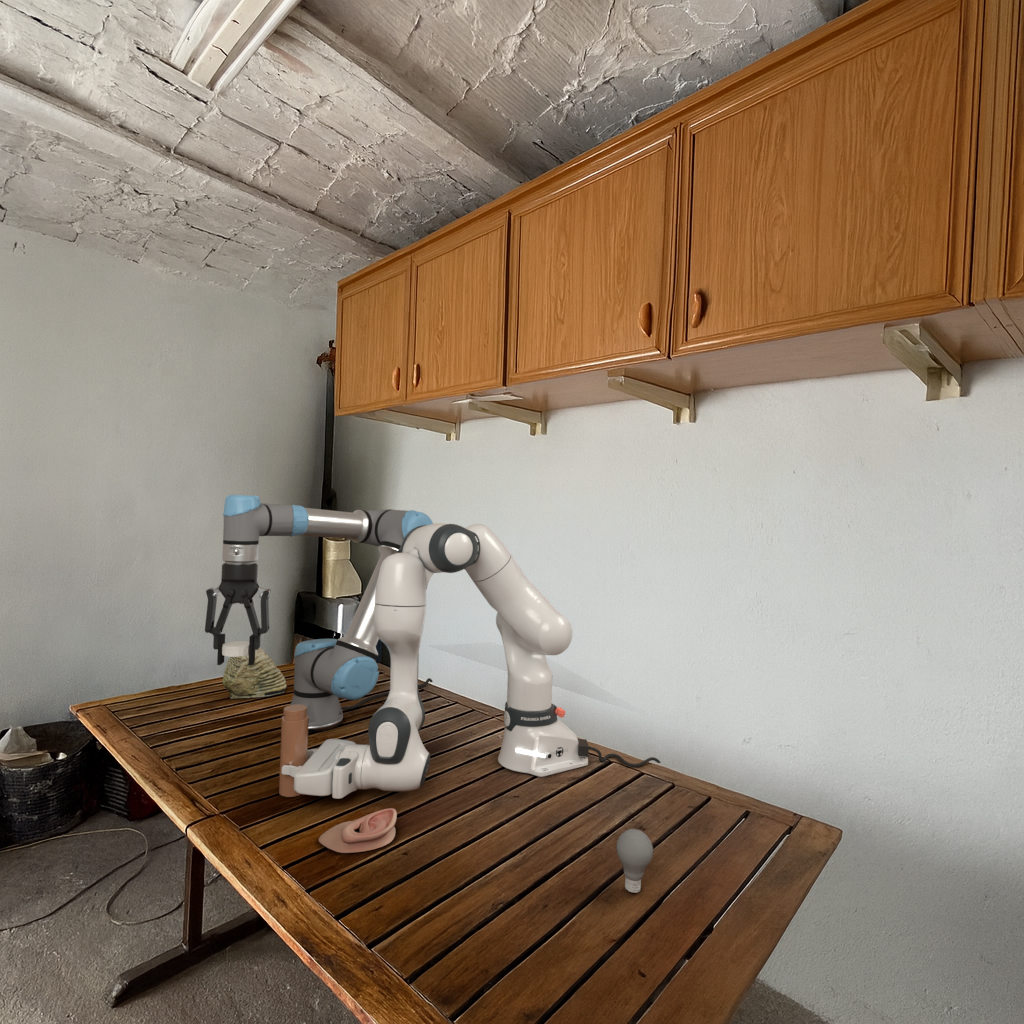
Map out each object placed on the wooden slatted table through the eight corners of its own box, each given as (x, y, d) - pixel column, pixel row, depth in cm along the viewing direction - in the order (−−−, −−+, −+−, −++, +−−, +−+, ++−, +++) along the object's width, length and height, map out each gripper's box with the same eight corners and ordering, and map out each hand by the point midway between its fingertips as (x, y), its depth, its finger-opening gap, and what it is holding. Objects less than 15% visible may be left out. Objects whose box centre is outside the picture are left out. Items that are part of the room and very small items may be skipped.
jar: (301, 783, 140) (304, 702, 139) (309, 793, 135) (312, 709, 135) (275, 788, 136) (278, 706, 136) (282, 799, 132) (286, 713, 132)
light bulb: (610, 879, 108) (613, 822, 108) (644, 879, 109) (647, 822, 109) (619, 902, 102) (622, 840, 102) (655, 901, 103) (658, 840, 103)
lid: (230, 658, 140) (230, 648, 140) (216, 653, 144) (217, 643, 144) (256, 654, 145) (256, 644, 145) (242, 649, 149) (242, 639, 149)
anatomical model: (310, 826, 114) (340, 797, 125) (309, 848, 114) (339, 817, 125) (379, 837, 111) (403, 806, 122) (378, 859, 111) (403, 827, 123)
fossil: (218, 695, 195) (220, 647, 195) (278, 685, 208) (279, 640, 207) (228, 703, 189) (230, 653, 188) (289, 692, 201) (290, 645, 201)
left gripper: (189, 562, 139) (186, 667, 139) (280, 565, 142) (276, 668, 142) (201, 559, 146) (197, 659, 147) (286, 562, 149) (282, 659, 150)
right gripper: (367, 733, 145) (307, 730, 146) (338, 771, 125) (269, 767, 126) (365, 760, 146) (306, 757, 146) (337, 803, 125) (268, 798, 126)
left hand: (236, 663), depth 145 cm, fingers closed on lid, 6 cm apart
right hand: (289, 762), depth 136 cm, fingers closed on jar, 5 cm apart
